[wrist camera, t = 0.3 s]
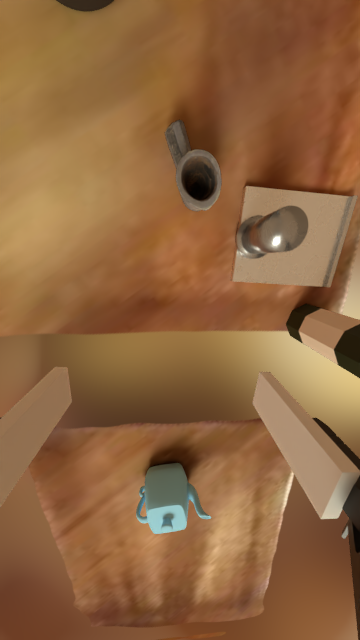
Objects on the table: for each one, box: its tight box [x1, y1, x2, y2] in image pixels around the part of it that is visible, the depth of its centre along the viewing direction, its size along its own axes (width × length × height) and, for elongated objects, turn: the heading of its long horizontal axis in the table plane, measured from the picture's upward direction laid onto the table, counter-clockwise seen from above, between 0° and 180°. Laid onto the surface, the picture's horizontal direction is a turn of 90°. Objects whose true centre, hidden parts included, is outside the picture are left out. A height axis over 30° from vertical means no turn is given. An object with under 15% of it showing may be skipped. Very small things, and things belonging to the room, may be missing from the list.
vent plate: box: [230, 186, 358, 287], centre depth 31 cm, size 16×21×11 cm
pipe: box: [165, 120, 221, 211], centre depth 28 cm, size 6×13×8 cm, turn 24°
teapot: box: [136, 463, 211, 534], centre depth 48 cm, size 12×18×12 cm
